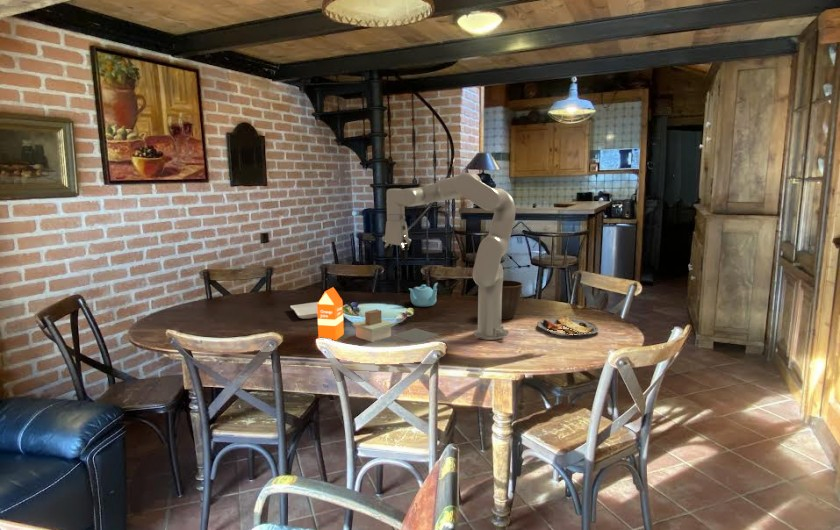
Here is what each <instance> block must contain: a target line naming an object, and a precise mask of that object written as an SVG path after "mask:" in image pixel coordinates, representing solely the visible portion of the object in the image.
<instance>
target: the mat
mask: <svg viewBox="0 0 840 530" xmlns="http://www.w3.org/2000/svg"><path fill="white" fill-rule="evenodd" d="M436 336H439V334H437V333H435V332H431V331H427V330H422V329H420V328H416V327H414V328H411V329H408V330H405V331H402V332H398V333H395V334H391V337H395V338H398V339H402V340H405V341H409V342H412V343H419V342H421V341H425V340H428V339H431V338H434V337H436Z"/></svg>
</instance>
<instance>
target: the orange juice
mask: <svg viewBox="0 0 840 530" xmlns="http://www.w3.org/2000/svg"><path fill="white" fill-rule="evenodd" d="M343 300H344V299H342V297H340V295H339V293H338V292H337V290H336V289H335V288H334V286H333V287H331V288H328V289H327V290H325V291H324V293H323V294H322V296H321V298H320V299H319V301H317V302H318V304H317V313H318V318H317V330H318V331H317V332H318V333H317V334H318V339H319V338H320V337H324V338H330V339H333V340H332V341H336V340H338V339H339V338H341V337H342V336H343V335H344V334H345V333H344V332H345V331H344V305H343Z"/></svg>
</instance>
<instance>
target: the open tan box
mask: <svg viewBox="0 0 840 530" xmlns="http://www.w3.org/2000/svg"><path fill="white" fill-rule="evenodd" d="M355 334H356V338H358V339H361V340H364V341H368V342H371V343H374V342H378V341H381V340H384V339H388V338H391V337H392V336H391V335H392V326H391V327H387V328H384V329H380V330H377V331H373V332H371V331H368V330H364V329H361V328H358V327H355Z"/></svg>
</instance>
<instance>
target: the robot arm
mask: <svg viewBox="0 0 840 530" xmlns="http://www.w3.org/2000/svg"><path fill="white" fill-rule="evenodd" d="M457 198H465V199H467V200H468V201H470V202H471V203H473V204H475V205H476V206H478V207H479V208H481V209H483V210H485V211H488V212H490V211H491V212H492V211H493V217H492V219H491V223H490V228H489V231H488V234H487V236H485V237H484V238H483V239H482V240H481V242H480V243H479V246H478V249H477V253H476V257H475V260H474V264H473V268H472V278H473V281H474V282H475V284H476V285H477V286H478V292H477V296H478V298H477V330H474V332H473V336H474V337H475V338H477V339H480V340H487V341H495V340H501V339H504V338H505V337H507V336H508V334H509V330H508V329H504V328H505V327H504V325H503V324H502V319H501V313H502V284H503V280H504V268H503V265H502V263H501V261H502V258H503V256H505V254H506V253H507V251H508V250H509V243H510V240H511V236H512V231H513V227H514V222H515V219H516V203H515V201H514V198H513V197H512V196H511V194H509V192H507V191H506V190H505V189H503V188H500V187H491V186H489V185H487V184H486V183H484V182H482V179H481V177H480V176H479V175H478V174H476V173H474V172H464V173H461V174H459V175H455V176H452V177H447V178H443V179H440V180H438V181H437V182H436V183H432V184H428V185H423V186H420V187H410V188H403V189H402V188H388V189H387V190H386V222H385V233H384V235H383V236H382V237H381V240H382V244H383V245H384V246H383V247H384V249H385V257H386V258H390V257H393V247H392V246H393V245H394V246H400V248H401V250H400V259H401V260H408V257H409V256H408V250H409V249H410V246H411V244H412V239H411V238H409V233H408V232H409V231H408V225H407V221H406V216H405V214H406V213H405V207H409V208H410V207H417V206H422V205H423V206H424V205H428V204H431V203H435V202H436V203H437V202H440V201H441V202H444V201H448V200H453V199H457Z"/></svg>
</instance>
